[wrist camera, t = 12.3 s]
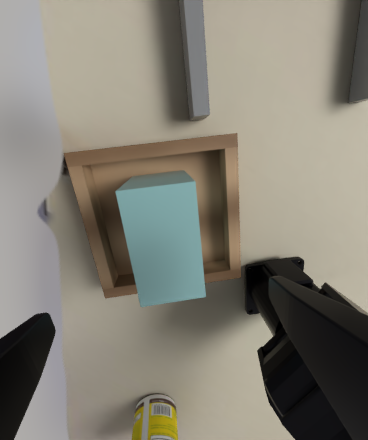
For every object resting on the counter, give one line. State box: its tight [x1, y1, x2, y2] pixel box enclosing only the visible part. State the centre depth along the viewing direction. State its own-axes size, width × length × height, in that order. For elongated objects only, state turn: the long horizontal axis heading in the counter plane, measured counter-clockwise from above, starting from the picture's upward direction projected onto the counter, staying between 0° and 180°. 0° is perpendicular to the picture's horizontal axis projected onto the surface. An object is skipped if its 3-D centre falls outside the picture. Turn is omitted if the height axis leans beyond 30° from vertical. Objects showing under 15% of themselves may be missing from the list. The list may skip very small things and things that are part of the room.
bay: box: [179, 0, 368, 121], centre depth 15 cm, size 11×15×2 cm
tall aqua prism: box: [115, 170, 206, 307], centre depth 16 cm, size 9×4×7 cm, turn 6°
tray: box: [64, 133, 241, 298], centre depth 19 cm, size 13×13×3 cm
